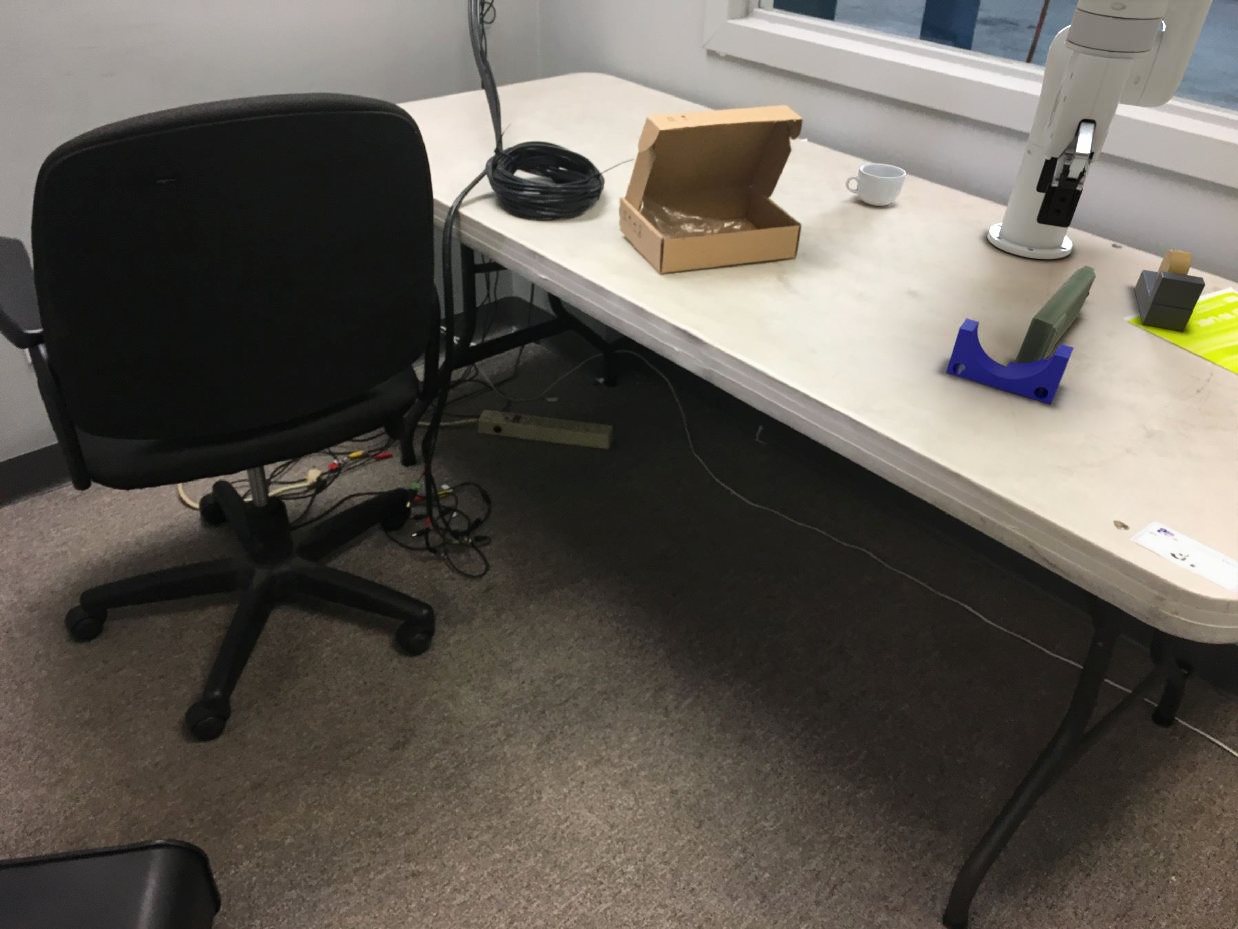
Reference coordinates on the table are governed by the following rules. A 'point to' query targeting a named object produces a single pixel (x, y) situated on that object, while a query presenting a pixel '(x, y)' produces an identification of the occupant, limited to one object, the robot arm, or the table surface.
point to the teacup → (878, 183)
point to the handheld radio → (1056, 317)
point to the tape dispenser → (1169, 292)
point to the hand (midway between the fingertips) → (1051, 208)
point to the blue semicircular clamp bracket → (1007, 367)
